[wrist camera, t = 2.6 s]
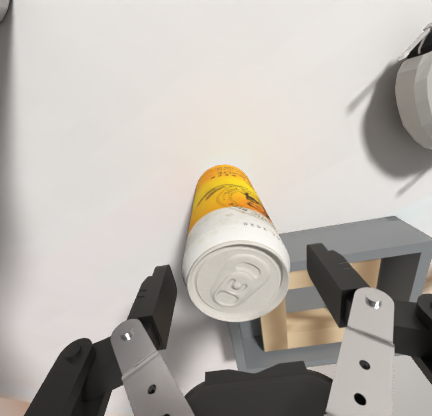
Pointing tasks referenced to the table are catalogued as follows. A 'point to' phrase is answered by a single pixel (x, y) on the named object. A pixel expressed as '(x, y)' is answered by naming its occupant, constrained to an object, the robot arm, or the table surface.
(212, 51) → the table surface
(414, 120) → the robot toy
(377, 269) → the plate
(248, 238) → the beer can
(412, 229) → the open-top box
